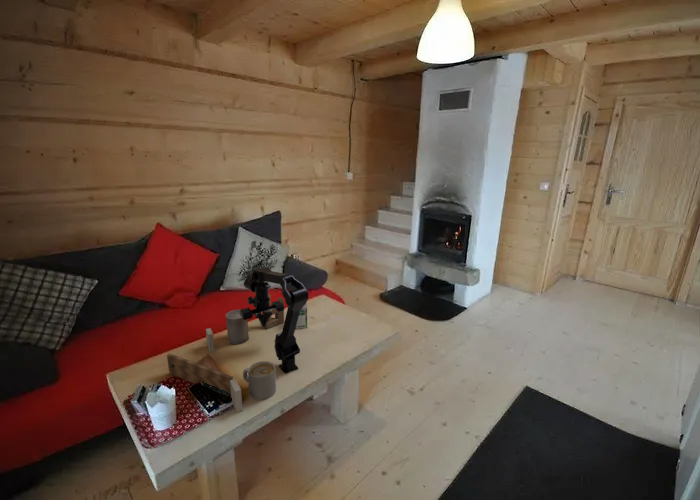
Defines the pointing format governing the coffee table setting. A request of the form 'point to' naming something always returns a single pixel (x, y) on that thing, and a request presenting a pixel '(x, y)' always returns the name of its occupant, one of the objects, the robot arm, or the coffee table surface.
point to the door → (197, 373)
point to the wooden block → (278, 316)
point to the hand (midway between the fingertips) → (263, 326)
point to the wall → (233, 383)
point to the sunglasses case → (208, 363)
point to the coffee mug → (261, 380)
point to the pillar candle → (236, 328)
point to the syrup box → (302, 318)
